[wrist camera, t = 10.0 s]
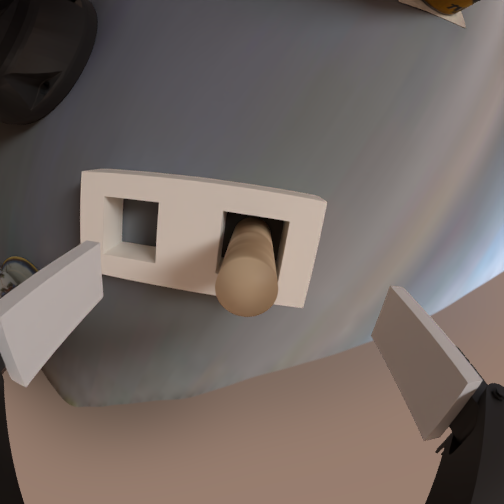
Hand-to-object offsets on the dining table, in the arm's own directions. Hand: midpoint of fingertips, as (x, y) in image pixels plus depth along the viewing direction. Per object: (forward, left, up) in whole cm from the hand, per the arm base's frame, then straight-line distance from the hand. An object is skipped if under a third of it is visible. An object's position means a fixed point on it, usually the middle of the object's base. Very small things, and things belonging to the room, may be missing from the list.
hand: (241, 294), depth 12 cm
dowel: (0, 0, -12) cm, 12 cm away
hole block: (-4, 0, -12) cm, 12 cm away
